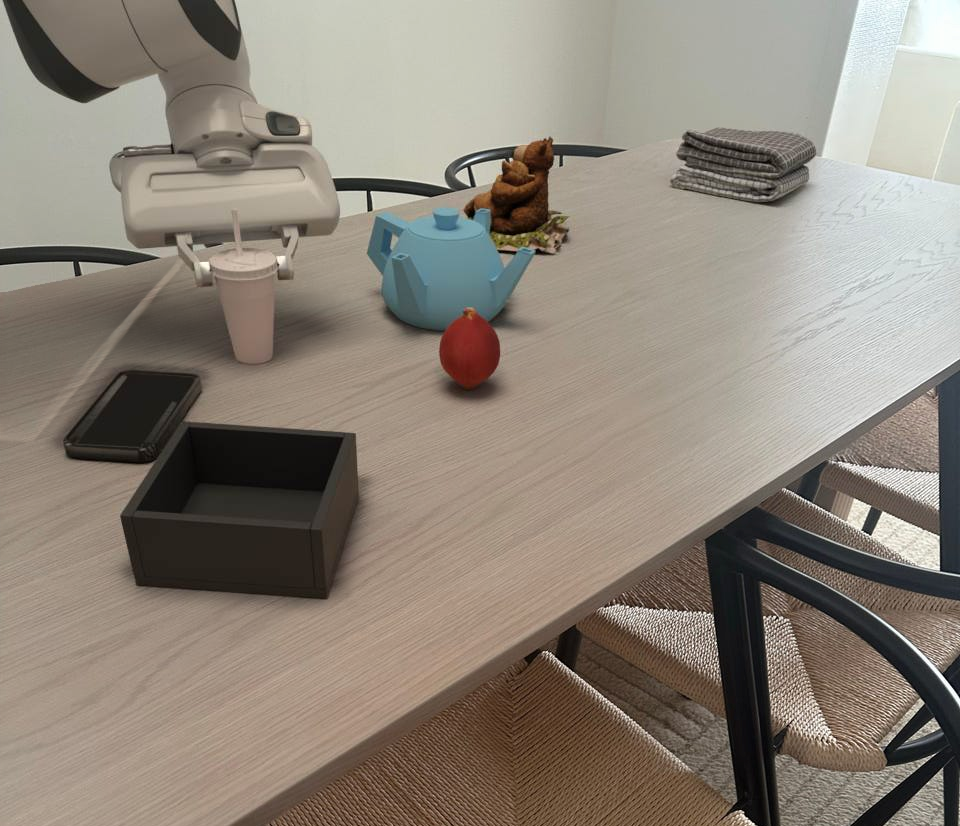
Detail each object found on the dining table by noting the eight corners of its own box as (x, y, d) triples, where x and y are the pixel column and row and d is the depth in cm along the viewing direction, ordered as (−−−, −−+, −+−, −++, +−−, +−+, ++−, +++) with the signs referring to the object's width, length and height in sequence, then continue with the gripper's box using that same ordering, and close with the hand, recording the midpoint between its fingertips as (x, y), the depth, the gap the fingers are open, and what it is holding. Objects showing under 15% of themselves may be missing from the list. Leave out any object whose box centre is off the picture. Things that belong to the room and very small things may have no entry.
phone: (58, 445, 82) (122, 368, 93) (61, 457, 82) (124, 379, 94) (151, 451, 81) (204, 373, 93) (154, 463, 82) (206, 384, 94)
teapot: (491, 281, 118) (495, 185, 111) (532, 330, 107) (540, 227, 100) (365, 291, 114) (361, 192, 107) (395, 342, 103) (393, 236, 96)
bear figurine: (474, 214, 138) (477, 118, 130) (578, 229, 134) (588, 131, 126) (439, 244, 128) (440, 141, 120) (551, 261, 124) (559, 156, 116)
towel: (778, 208, 145) (791, 150, 140) (663, 185, 152) (672, 130, 147) (810, 186, 155) (823, 131, 150) (701, 165, 162) (710, 112, 157)
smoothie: (266, 338, 103) (250, 196, 94) (298, 359, 99) (285, 214, 90) (210, 353, 100) (188, 207, 91) (241, 375, 96) (222, 226, 87)
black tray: (135, 585, 69) (119, 515, 66) (192, 485, 80) (181, 420, 76) (327, 599, 69) (321, 529, 65) (359, 497, 80) (355, 432, 76)
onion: (451, 370, 98) (453, 291, 93) (506, 381, 97) (510, 300, 92) (430, 394, 94) (430, 312, 89) (487, 405, 93) (490, 323, 88)
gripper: (101, 127, 89) (130, 274, 88) (325, 118, 94) (354, 256, 94) (108, 167, 95) (135, 305, 94) (319, 157, 101) (346, 286, 100)
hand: (246, 280), depth 94 cm, fingers closed on smoothie, 6 cm apart
